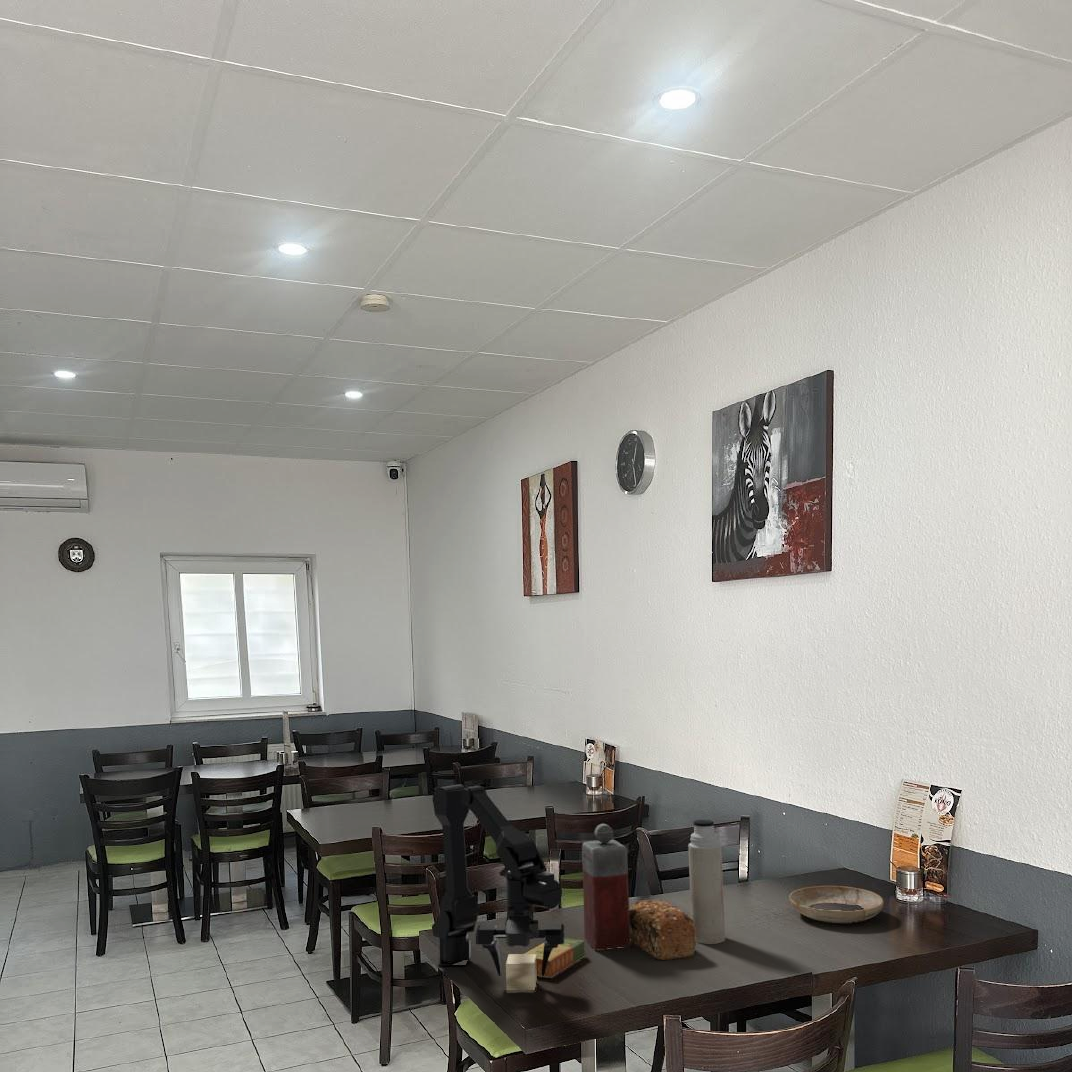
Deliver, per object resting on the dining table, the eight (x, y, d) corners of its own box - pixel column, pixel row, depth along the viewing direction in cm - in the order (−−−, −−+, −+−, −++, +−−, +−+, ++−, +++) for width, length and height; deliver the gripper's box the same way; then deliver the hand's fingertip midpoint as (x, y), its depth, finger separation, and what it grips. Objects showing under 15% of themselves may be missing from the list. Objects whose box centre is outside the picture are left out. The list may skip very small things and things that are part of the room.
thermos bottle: (725, 934, 233) (720, 817, 236) (725, 944, 225) (720, 824, 228) (692, 933, 235) (688, 817, 237) (691, 943, 227) (686, 823, 230)
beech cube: (506, 993, 198) (505, 963, 199) (509, 983, 204) (508, 954, 205) (535, 993, 198) (534, 963, 198) (536, 983, 204) (536, 954, 204)
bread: (697, 957, 217) (696, 912, 218) (655, 963, 214) (653, 917, 215) (664, 933, 235) (662, 892, 236) (624, 938, 232) (623, 896, 233)
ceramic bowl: (781, 904, 257) (780, 885, 258) (868, 903, 256) (867, 884, 257) (801, 931, 234) (800, 910, 235) (897, 930, 233) (896, 909, 234)
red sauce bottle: (616, 933, 236) (612, 818, 239) (630, 947, 225) (626, 826, 228) (581, 936, 234) (578, 820, 237) (594, 950, 223) (591, 829, 226)
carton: (518, 975, 210) (518, 954, 210) (554, 953, 223) (554, 934, 224) (551, 981, 205) (550, 960, 206) (585, 958, 219) (585, 939, 219)
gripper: (471, 910, 195) (472, 989, 194) (561, 910, 194) (563, 989, 193) (478, 896, 206) (479, 970, 205) (563, 895, 205) (565, 970, 204)
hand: (521, 975), depth 201 cm, fingers open, 9 cm apart
